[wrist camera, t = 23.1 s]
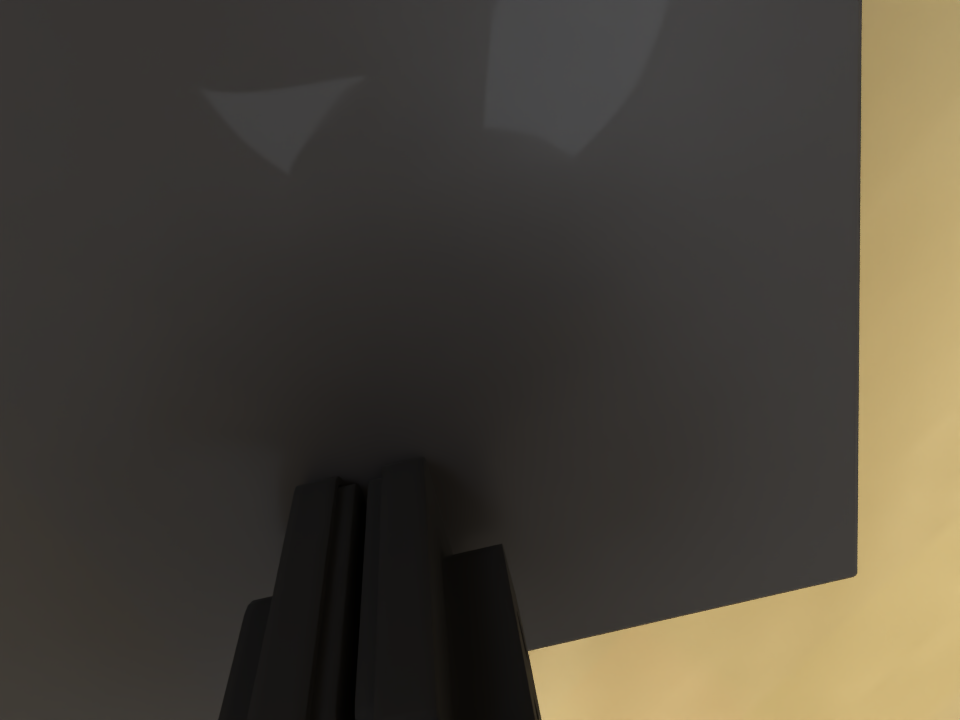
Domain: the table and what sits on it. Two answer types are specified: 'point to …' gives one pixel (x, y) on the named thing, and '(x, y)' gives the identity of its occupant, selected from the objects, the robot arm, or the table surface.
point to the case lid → (416, 310)
